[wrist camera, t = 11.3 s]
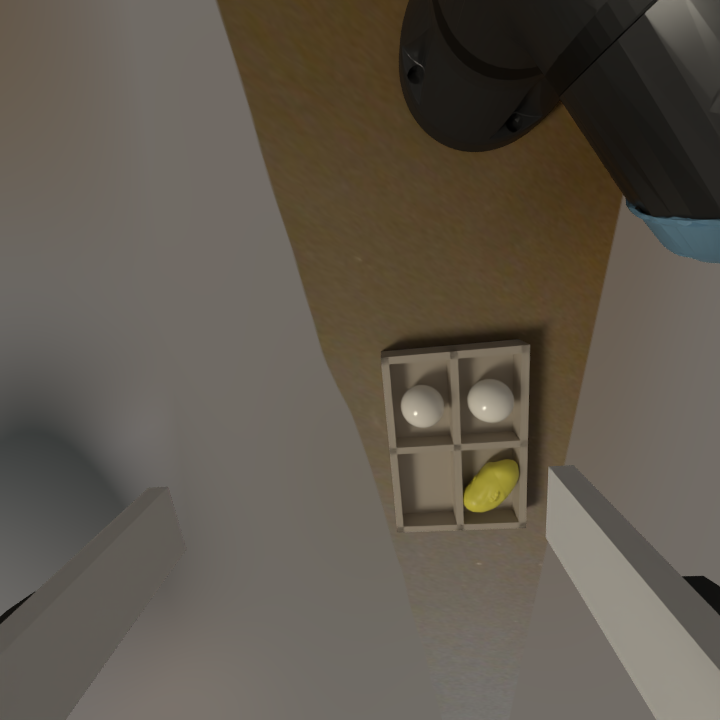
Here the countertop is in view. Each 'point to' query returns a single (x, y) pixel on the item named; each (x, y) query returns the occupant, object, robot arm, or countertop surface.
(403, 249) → the countertop surface
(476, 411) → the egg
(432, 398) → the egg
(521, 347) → the divided tray
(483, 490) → the yellow oval piece
